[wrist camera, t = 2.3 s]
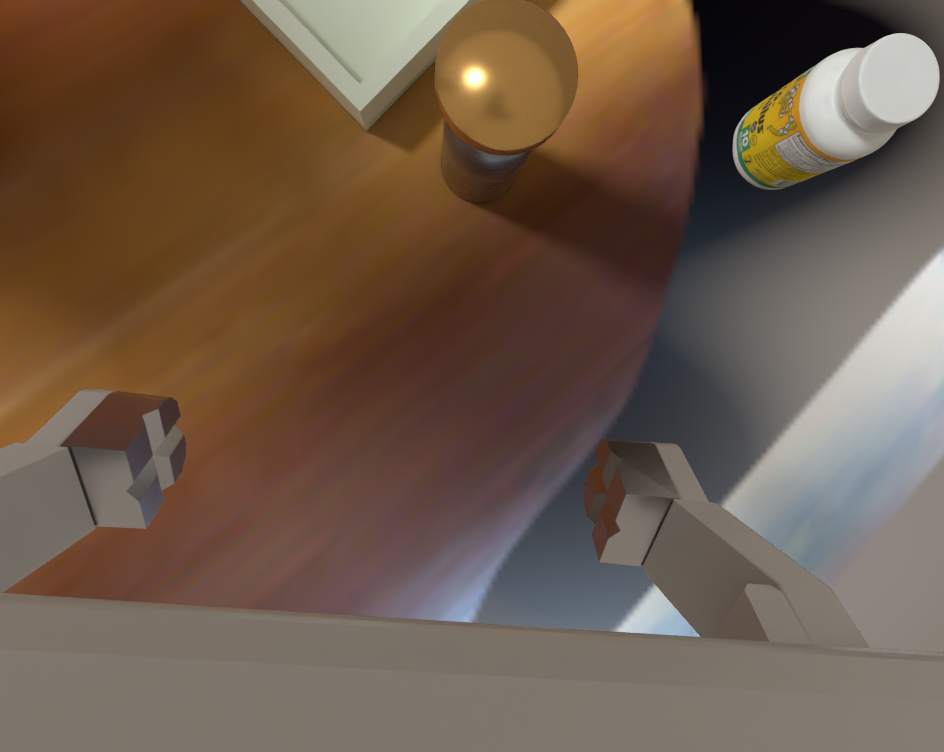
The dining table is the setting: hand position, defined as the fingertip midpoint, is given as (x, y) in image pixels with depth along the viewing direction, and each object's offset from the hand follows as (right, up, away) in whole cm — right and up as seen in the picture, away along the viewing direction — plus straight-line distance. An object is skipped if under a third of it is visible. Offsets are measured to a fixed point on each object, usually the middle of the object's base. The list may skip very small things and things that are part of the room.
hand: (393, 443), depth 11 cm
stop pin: (+2, +14, +22) cm, 27 cm away
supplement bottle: (+20, +16, +24) cm, 35 cm away
